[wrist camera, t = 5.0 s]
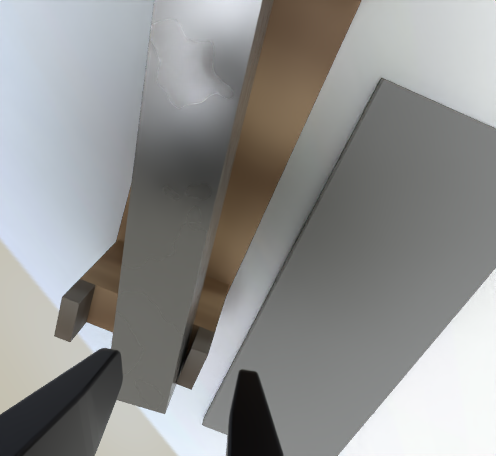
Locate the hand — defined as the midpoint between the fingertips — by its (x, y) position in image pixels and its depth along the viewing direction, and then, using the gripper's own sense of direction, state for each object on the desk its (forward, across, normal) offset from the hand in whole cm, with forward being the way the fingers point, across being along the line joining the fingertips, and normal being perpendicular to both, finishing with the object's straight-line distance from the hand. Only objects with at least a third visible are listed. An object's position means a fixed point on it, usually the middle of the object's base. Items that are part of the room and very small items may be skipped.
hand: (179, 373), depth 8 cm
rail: (+8, +2, -3) cm, 9 cm away
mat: (+13, -6, +8) cm, 17 cm away
